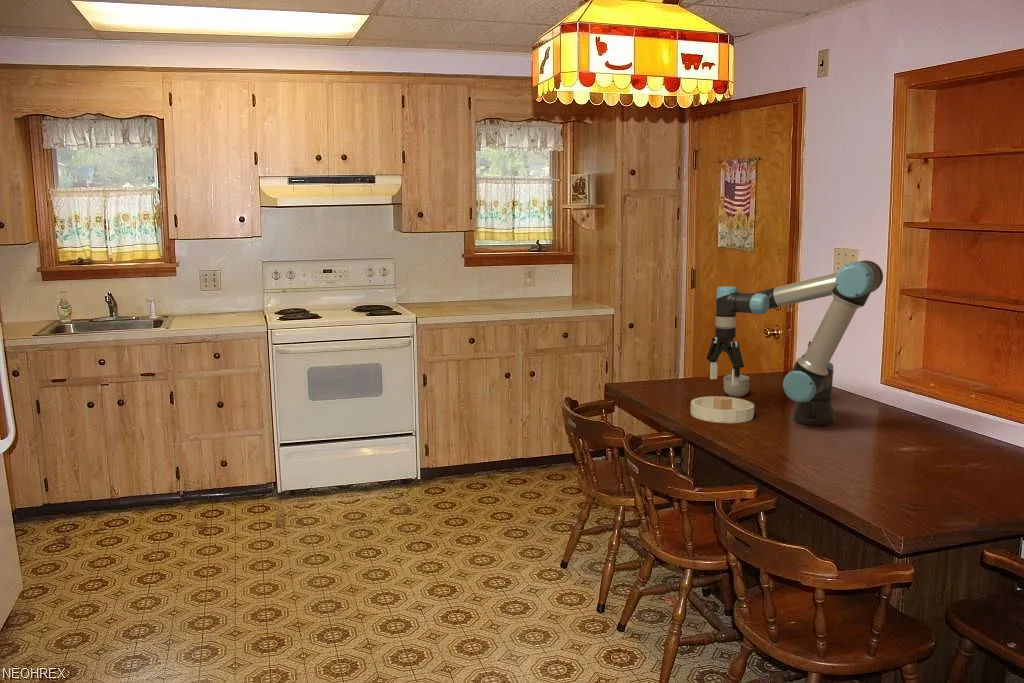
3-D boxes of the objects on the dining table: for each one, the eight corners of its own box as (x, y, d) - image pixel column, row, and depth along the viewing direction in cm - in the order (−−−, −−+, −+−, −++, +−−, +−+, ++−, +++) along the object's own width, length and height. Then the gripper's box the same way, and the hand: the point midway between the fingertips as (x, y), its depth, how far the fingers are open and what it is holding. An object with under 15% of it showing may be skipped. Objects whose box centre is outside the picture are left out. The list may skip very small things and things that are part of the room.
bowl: (766, 419, 331) (766, 407, 330) (714, 425, 322) (715, 413, 321) (728, 406, 352) (728, 394, 351) (679, 411, 343) (679, 399, 342)
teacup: (751, 398, 366) (752, 379, 364) (725, 398, 366) (726, 379, 364) (743, 391, 379) (744, 372, 378) (718, 390, 380) (719, 372, 378)
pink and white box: (731, 414, 335) (732, 399, 334) (720, 415, 333) (721, 400, 332) (723, 411, 340) (724, 396, 339) (712, 412, 338) (713, 397, 337)
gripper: (754, 330, 321) (753, 387, 324) (714, 322, 344) (712, 375, 347) (737, 332, 318) (736, 389, 322) (698, 323, 341) (697, 377, 344)
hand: (724, 382), depth 334 cm, fingers open, 13 cm apart
